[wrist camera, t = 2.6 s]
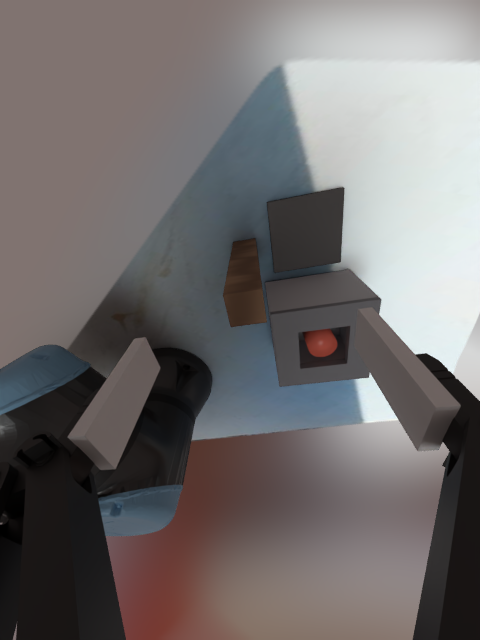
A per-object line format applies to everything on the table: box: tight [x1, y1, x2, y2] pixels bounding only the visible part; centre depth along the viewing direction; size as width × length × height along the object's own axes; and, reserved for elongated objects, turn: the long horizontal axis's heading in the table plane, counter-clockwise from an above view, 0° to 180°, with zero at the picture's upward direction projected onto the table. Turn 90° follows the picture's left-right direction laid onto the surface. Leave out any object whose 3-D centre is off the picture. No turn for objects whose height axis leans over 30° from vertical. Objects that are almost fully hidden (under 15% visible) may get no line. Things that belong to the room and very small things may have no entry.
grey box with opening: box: [265, 269, 381, 387], centre depth 33 cm, size 12×12×9 cm
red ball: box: [302, 329, 337, 357], centre depth 31 cm, size 4×4×4 cm
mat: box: [267, 187, 344, 273], centre depth 30 cm, size 9×9×1 cm
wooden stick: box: [223, 238, 267, 327], centre depth 25 cm, size 3×3×16 cm
